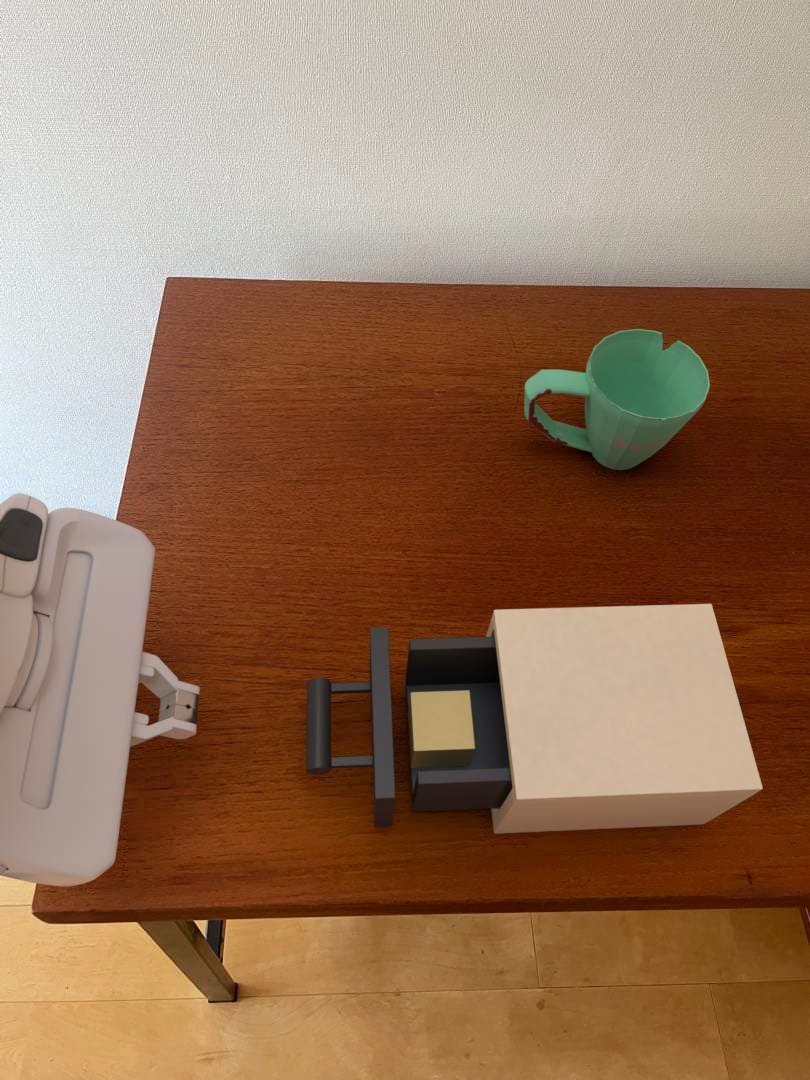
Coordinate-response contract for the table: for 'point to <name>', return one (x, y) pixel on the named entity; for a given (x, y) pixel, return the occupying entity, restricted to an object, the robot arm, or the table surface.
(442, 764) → the block
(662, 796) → the beige cabinet housing
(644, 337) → the mug
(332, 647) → the table surface
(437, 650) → the drawer
